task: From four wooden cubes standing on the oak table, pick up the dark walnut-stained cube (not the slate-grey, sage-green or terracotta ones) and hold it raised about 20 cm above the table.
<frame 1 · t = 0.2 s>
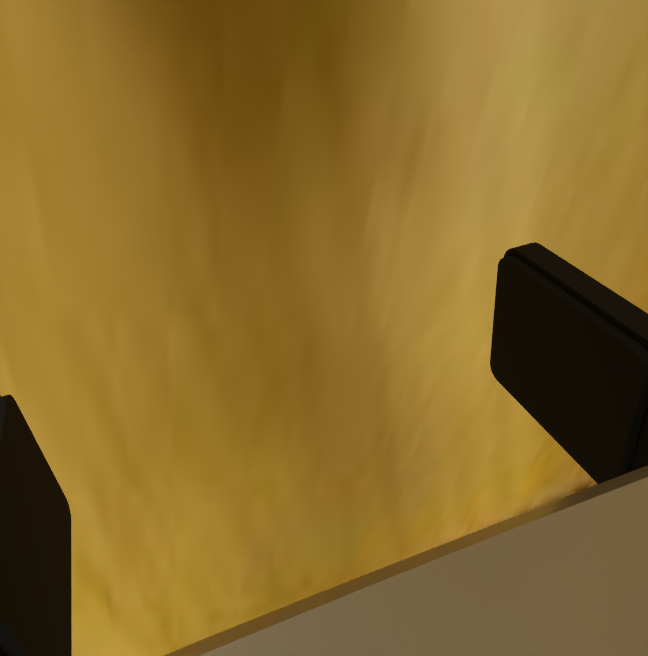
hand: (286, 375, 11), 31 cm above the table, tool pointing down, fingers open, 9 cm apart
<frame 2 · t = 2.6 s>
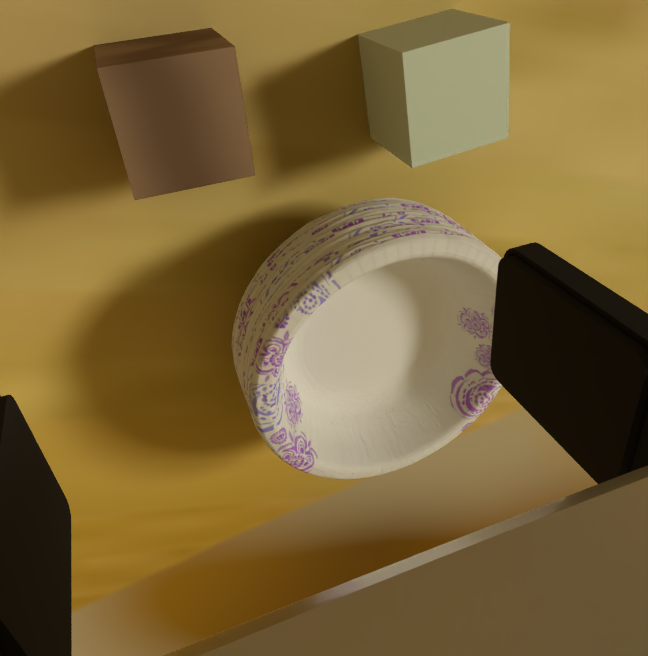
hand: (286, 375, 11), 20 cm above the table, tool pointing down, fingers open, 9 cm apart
walnut block: (167, 96, 27), on the table
sage block: (409, 75, 30), on the table
paper bowls: (342, 296, 36), on the table
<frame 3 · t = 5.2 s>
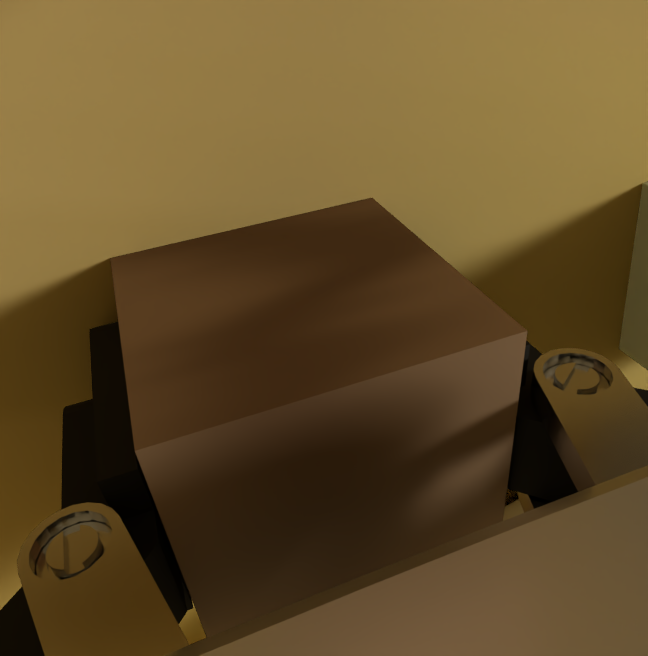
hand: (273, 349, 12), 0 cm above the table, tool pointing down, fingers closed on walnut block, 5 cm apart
walnut block: (267, 335, 12), on the table, touching gripper
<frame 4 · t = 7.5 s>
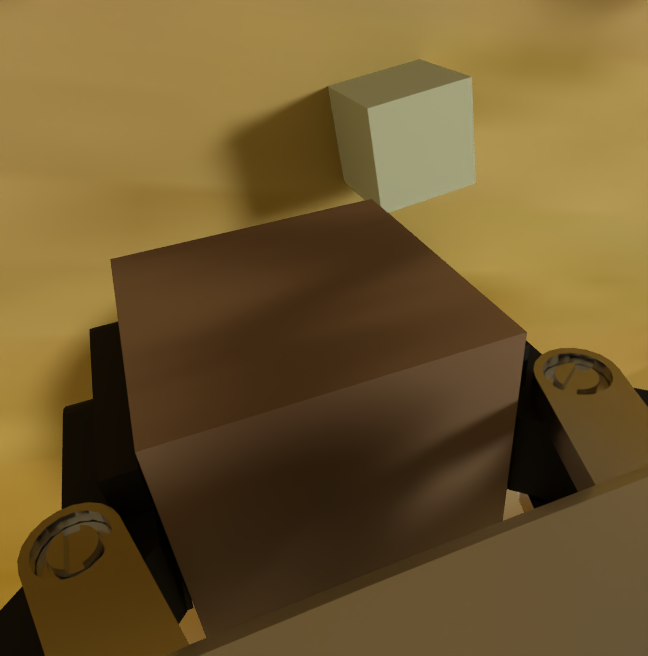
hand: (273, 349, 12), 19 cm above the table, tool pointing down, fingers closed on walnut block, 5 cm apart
walnut block: (267, 336, 12), point 19 cm above the table, touching gripper
sage block: (379, 122, 31), on the table
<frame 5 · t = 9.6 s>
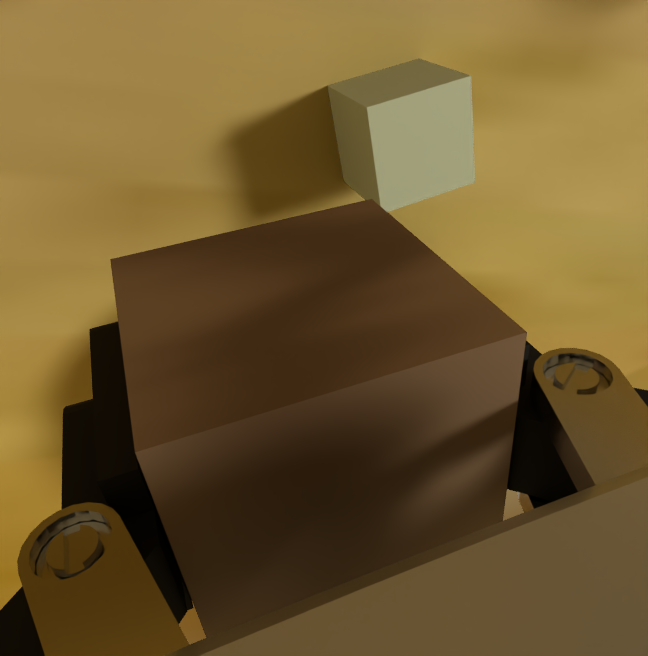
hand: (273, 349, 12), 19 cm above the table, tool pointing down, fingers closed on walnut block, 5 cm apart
walnut block: (267, 336, 12), point 19 cm above the table, touching gripper
sage block: (379, 121, 31), on the table
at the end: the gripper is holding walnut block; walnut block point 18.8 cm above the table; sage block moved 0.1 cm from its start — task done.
